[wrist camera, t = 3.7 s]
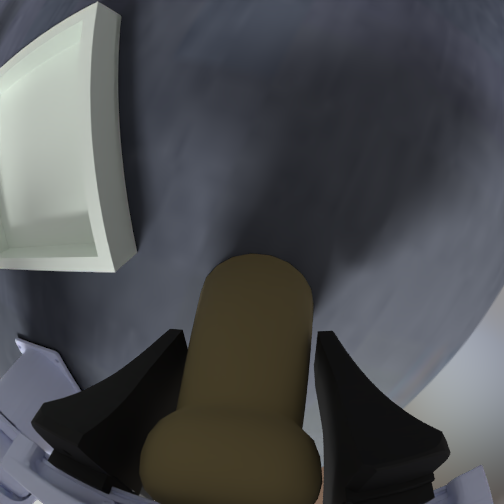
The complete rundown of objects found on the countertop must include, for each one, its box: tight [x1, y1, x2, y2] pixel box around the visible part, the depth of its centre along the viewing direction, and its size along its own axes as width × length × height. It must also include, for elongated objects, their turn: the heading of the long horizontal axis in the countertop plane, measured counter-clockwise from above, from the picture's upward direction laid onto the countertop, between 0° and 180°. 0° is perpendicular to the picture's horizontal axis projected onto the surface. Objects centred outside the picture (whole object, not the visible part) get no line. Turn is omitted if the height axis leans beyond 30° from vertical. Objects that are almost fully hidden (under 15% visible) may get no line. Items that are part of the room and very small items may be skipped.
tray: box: [0, 2, 137, 272], centre depth 11 cm, size 14×14×2 cm
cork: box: [139, 253, 322, 504], centre depth 9 cm, size 6×6×11 cm
